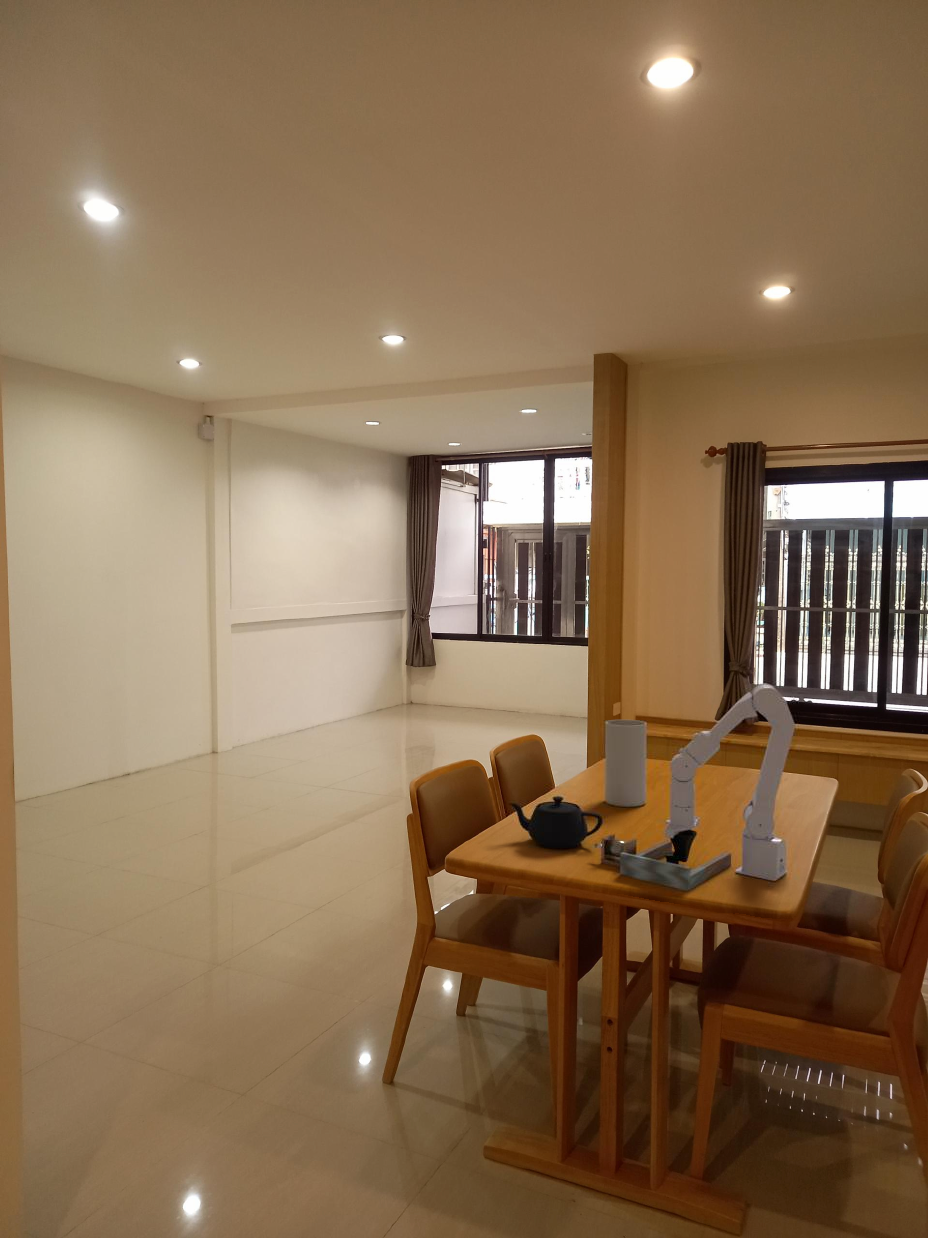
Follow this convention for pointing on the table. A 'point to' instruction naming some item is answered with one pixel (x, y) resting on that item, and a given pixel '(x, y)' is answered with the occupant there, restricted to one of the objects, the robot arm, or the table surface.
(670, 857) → the black holder block
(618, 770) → the cylinder vase
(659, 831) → the table surface
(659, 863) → the bay
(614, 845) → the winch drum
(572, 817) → the teapot
